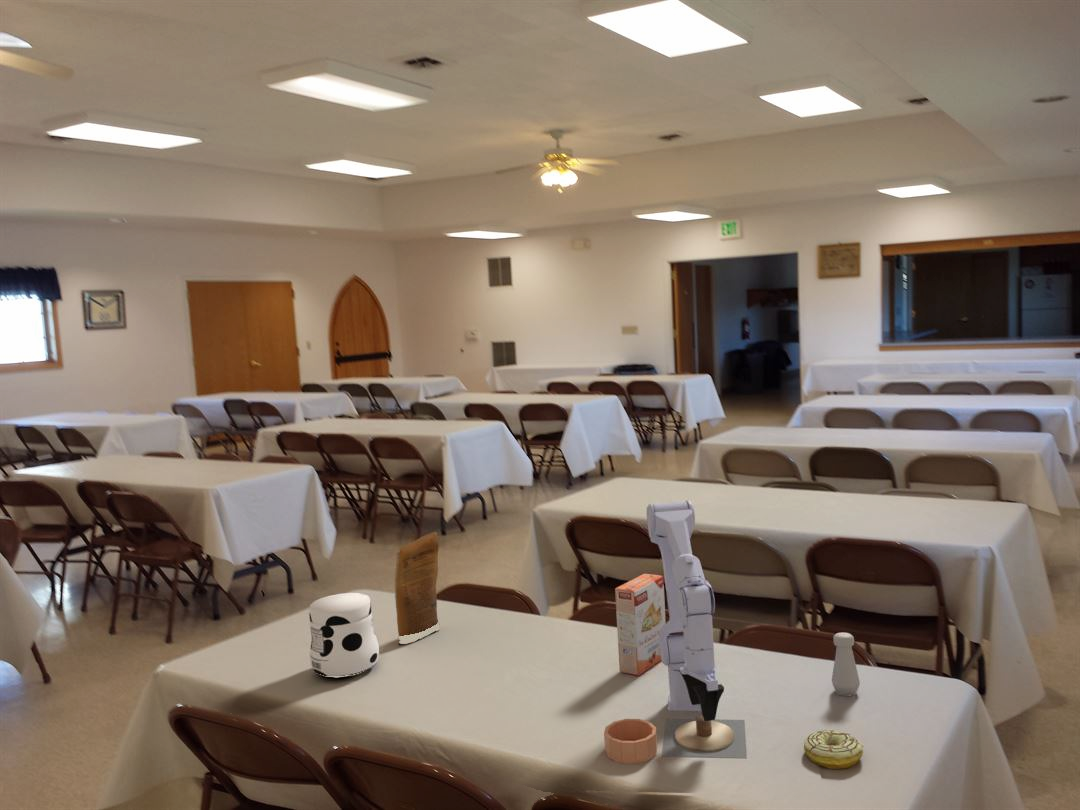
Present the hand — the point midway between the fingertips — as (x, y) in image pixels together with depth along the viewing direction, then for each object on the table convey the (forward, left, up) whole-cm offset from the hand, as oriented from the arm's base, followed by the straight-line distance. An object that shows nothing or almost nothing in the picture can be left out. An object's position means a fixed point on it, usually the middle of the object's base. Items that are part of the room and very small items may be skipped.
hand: (703, 711), depth 179 cm
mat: (0, 0, -6) cm, 6 cm away
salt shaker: (-30, -23, -6) cm, 38 cm away
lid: (0, 0, -5) cm, 5 cm away
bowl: (+14, +6, -6) cm, 16 cm away
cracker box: (+15, -38, -6) cm, 41 cm away
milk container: (+91, -34, -6) cm, 97 cm away
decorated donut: (-24, +6, -6) cm, 25 cm away
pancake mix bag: (+79, -58, -6) cm, 98 cm away
